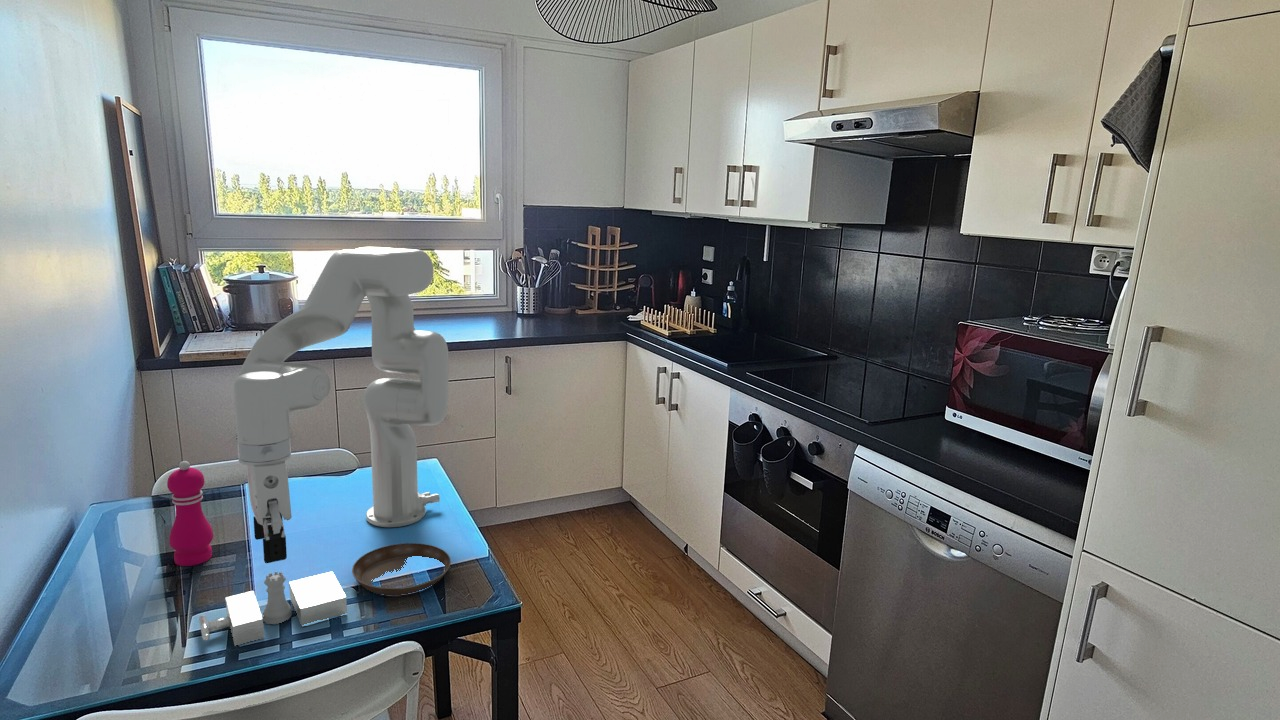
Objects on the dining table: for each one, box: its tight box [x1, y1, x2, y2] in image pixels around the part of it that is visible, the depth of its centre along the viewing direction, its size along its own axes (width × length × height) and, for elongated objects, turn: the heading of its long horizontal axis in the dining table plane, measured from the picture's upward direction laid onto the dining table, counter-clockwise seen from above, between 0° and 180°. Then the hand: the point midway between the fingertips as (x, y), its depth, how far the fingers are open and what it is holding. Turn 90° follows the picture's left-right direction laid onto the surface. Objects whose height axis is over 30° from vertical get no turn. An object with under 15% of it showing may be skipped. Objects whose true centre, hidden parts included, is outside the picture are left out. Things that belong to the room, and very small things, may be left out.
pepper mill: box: [166, 460, 214, 567], centre depth 139 cm, size 7×7×20 cm
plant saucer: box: [351, 542, 452, 595], centre depth 138 cm, size 18×18×3 cm
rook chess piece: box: [262, 571, 293, 625], centre depth 122 cm, size 4×4×8 cm
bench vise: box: [198, 571, 348, 647], centre depth 123 cm, size 21×10×4 cm, turn 125°
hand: (270, 548), depth 120 cm, fingers open, 9 cm apart
